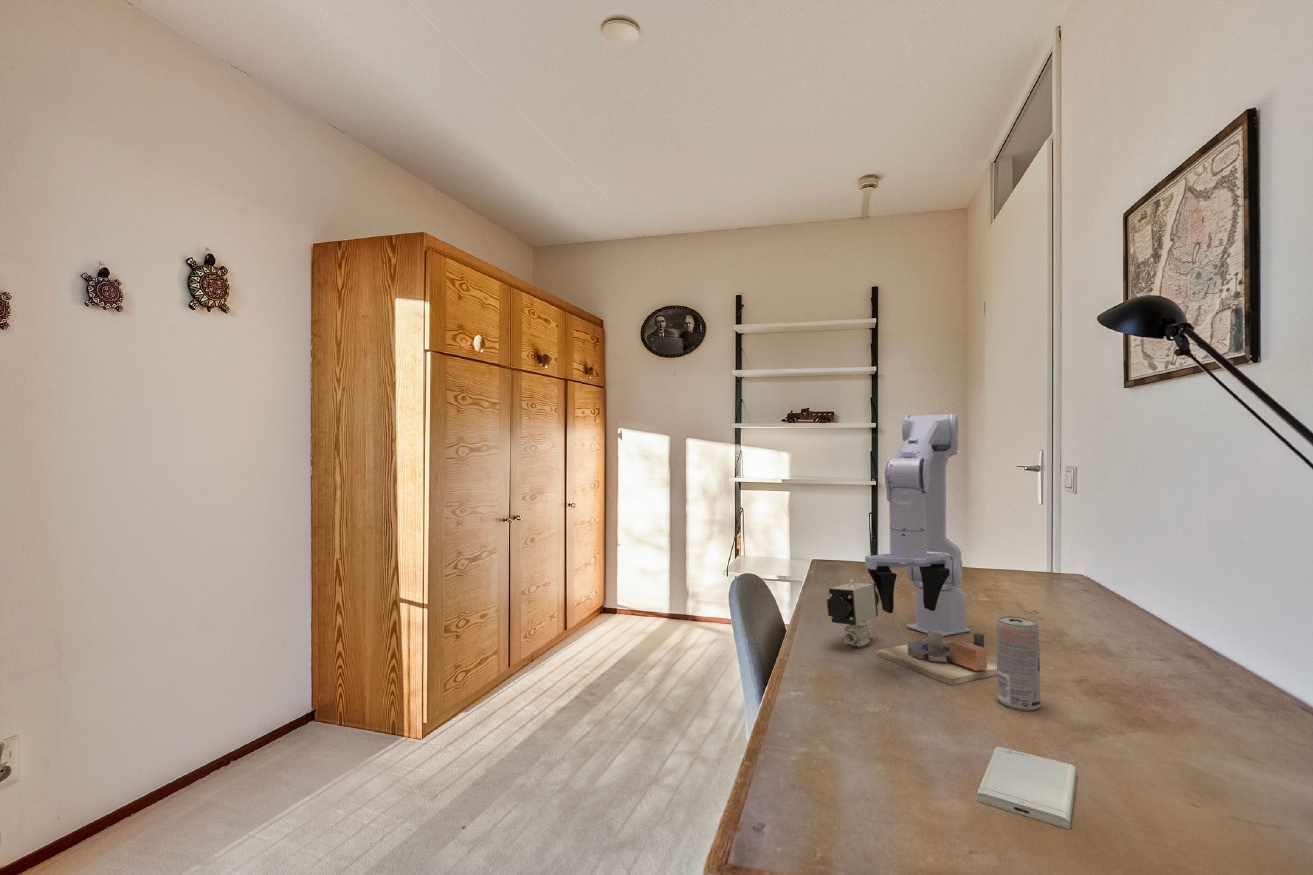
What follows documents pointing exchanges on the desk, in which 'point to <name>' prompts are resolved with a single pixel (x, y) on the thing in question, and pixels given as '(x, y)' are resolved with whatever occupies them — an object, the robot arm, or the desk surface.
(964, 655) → the segmented ring with bar
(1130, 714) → the desk surface
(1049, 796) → the hard drive
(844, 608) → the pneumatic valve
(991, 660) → the board
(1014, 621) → the energy drink
